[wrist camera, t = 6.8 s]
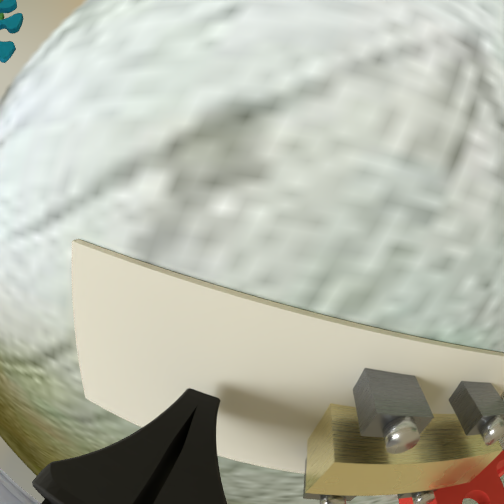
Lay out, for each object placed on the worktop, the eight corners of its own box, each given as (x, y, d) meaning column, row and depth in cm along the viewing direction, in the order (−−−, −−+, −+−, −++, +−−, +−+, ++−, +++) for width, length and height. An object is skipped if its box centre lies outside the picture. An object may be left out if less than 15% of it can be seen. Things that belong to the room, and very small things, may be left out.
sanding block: (455, 445, 10) (469, 481, 7) (307, 439, 11) (305, 492, 8) (482, 413, 9) (502, 450, 6) (330, 403, 10) (334, 462, 7)
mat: (429, 470, 12) (430, 474, 11) (88, 394, 14) (85, 398, 13) (520, 355, 9) (524, 359, 8) (78, 239, 11) (71, 240, 10)
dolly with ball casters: (423, 463, 11) (433, 504, 8) (305, 459, 12) (302, 511, 8) (490, 382, 9) (518, 423, 6) (365, 367, 10) (381, 431, 6)
